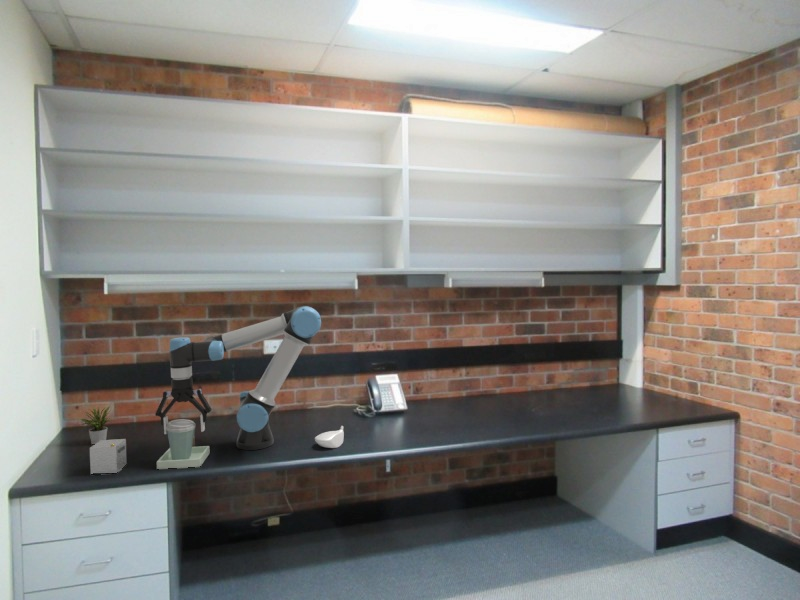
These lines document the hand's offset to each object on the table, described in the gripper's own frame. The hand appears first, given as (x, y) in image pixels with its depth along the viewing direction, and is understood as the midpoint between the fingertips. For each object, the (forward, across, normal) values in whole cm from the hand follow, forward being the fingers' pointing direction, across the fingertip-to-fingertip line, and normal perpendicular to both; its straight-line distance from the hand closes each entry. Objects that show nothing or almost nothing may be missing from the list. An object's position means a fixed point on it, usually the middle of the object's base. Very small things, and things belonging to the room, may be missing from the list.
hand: (184, 432), depth 201 cm
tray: (+11, +1, 0) cm, 11 cm away
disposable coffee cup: (+11, +2, 0) cm, 11 cm away
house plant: (+11, +44, -30) cm, 55 cm away
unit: (+11, +26, +5) cm, 29 cm away
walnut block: (+12, +3, -15) cm, 19 cm away
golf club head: (+13, -55, -10) cm, 57 cm away
